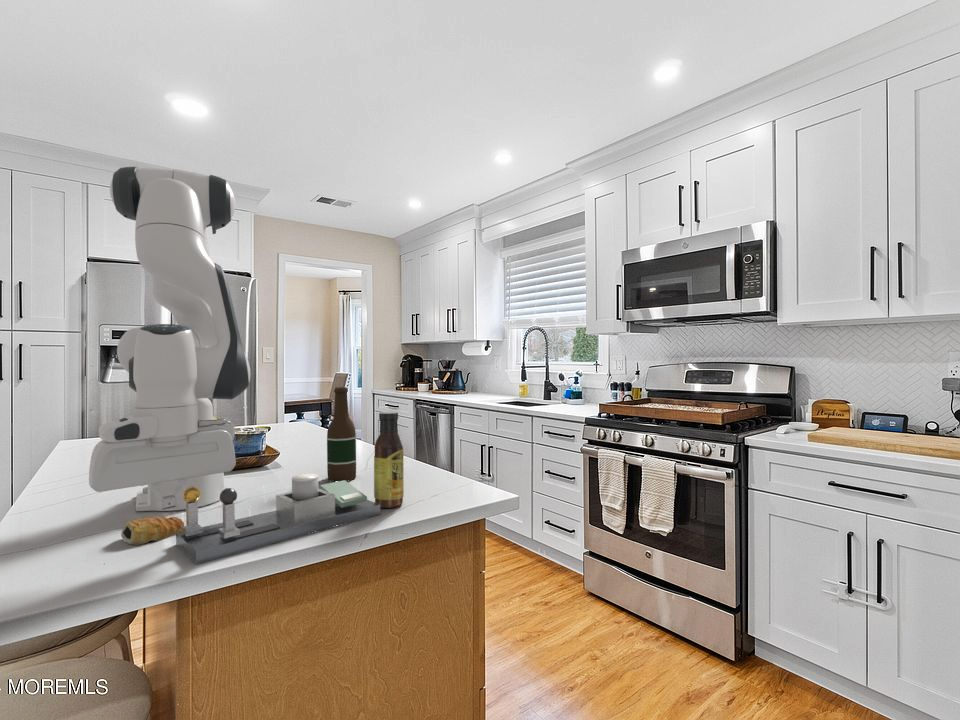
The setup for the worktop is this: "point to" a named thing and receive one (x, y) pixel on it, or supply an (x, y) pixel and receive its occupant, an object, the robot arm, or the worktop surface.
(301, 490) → the button
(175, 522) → the pastry
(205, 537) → the board
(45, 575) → the worktop surface
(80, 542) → the worktop surface
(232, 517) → the slider
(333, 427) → the beer bottle
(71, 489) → the worktop surface
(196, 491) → the slider
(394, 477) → the sauce bottle
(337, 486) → the rocker
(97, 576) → the worktop surface
